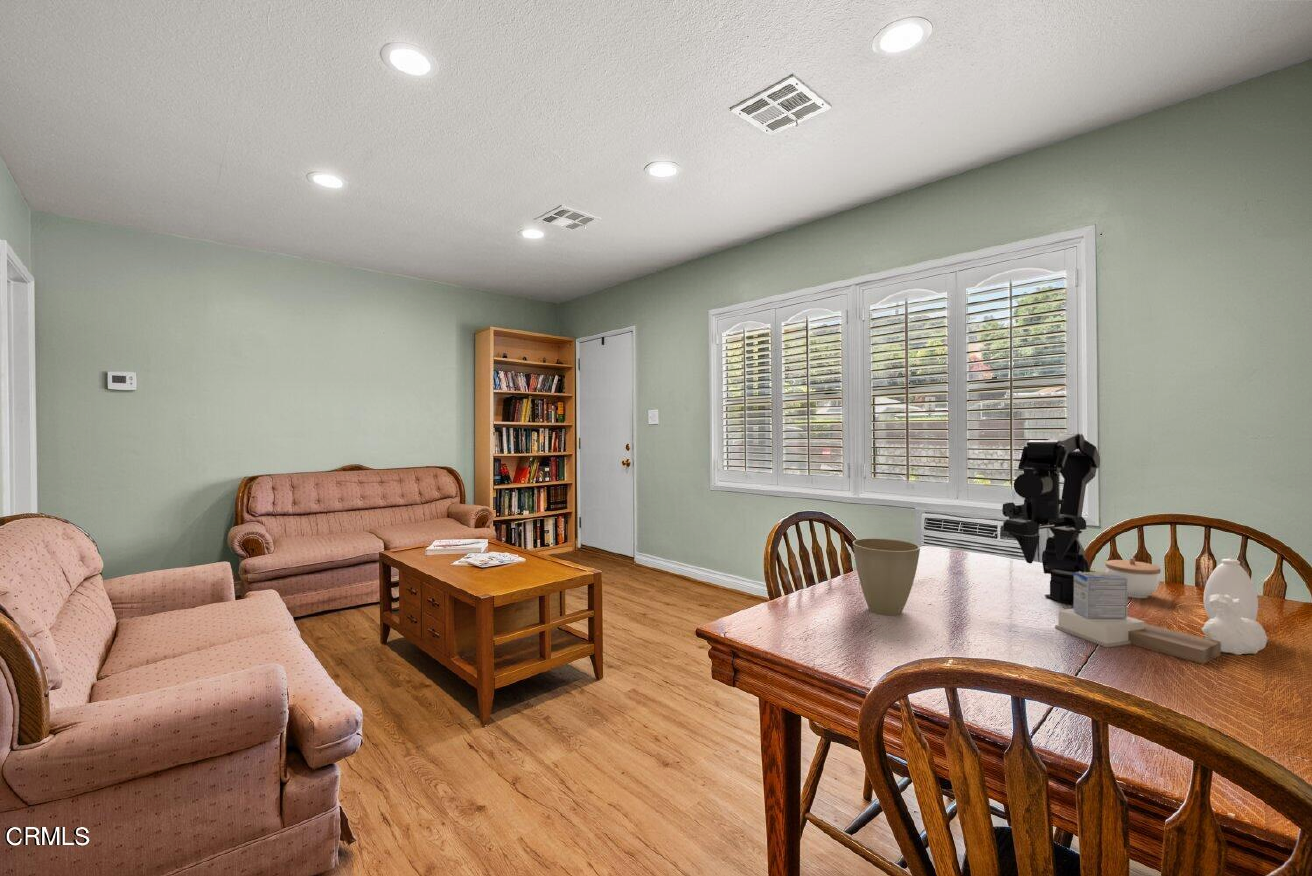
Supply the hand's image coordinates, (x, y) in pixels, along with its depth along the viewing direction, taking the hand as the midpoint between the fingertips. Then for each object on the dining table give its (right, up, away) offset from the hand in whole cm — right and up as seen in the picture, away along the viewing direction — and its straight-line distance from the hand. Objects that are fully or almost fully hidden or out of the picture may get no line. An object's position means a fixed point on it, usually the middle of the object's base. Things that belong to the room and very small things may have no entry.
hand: (1044, 561), depth 129 cm
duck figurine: (+22, -13, -21) cm, 33 cm away
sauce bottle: (+30, -12, -13) cm, 35 cm away
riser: (+2, -13, -13) cm, 18 cm away
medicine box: (+2, -9, -13) cm, 16 cm away
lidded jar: (+32, -12, +14) cm, 37 cm away
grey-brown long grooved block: (+10, -13, -20) cm, 26 cm away
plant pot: (-35, -13, +4) cm, 38 cm away
